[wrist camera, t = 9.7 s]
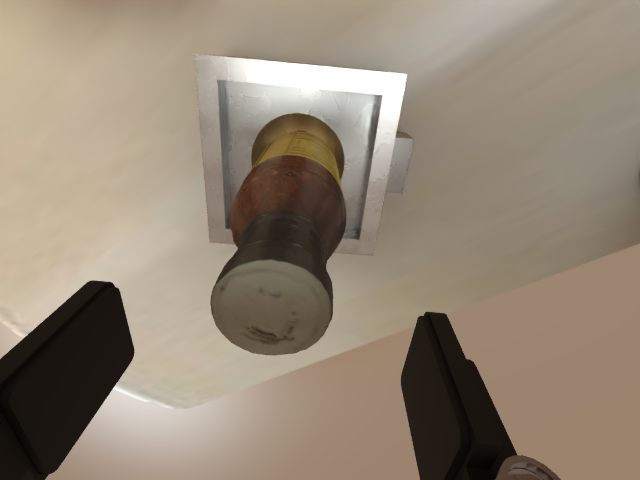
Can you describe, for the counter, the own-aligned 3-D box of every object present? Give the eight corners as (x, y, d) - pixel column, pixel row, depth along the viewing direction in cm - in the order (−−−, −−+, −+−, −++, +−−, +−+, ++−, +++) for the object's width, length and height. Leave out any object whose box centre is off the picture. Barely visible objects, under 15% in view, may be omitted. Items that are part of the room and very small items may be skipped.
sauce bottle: (296, 211, 31) (254, 411, 13) (249, 158, 28) (121, 311, 11) (354, 168, 29) (397, 335, 11) (308, 107, 26) (271, 194, 9)
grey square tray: (414, 74, 31) (440, 77, 24) (385, 221, 38) (399, 257, 31) (225, 56, 30) (194, 53, 23) (231, 208, 37) (209, 242, 30)
